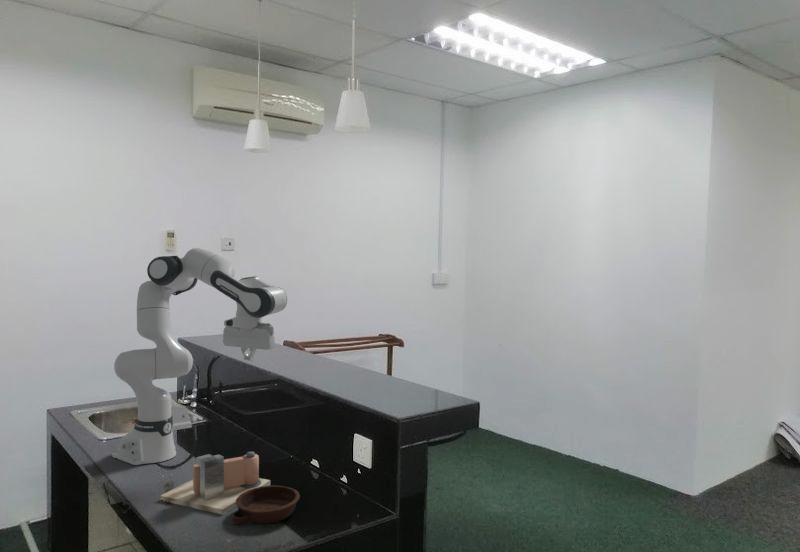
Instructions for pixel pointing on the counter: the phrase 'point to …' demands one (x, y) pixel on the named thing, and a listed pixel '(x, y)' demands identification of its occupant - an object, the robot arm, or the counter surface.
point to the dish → (265, 504)
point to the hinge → (180, 418)
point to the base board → (216, 505)
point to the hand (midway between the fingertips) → (248, 360)
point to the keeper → (211, 476)
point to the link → (234, 471)
